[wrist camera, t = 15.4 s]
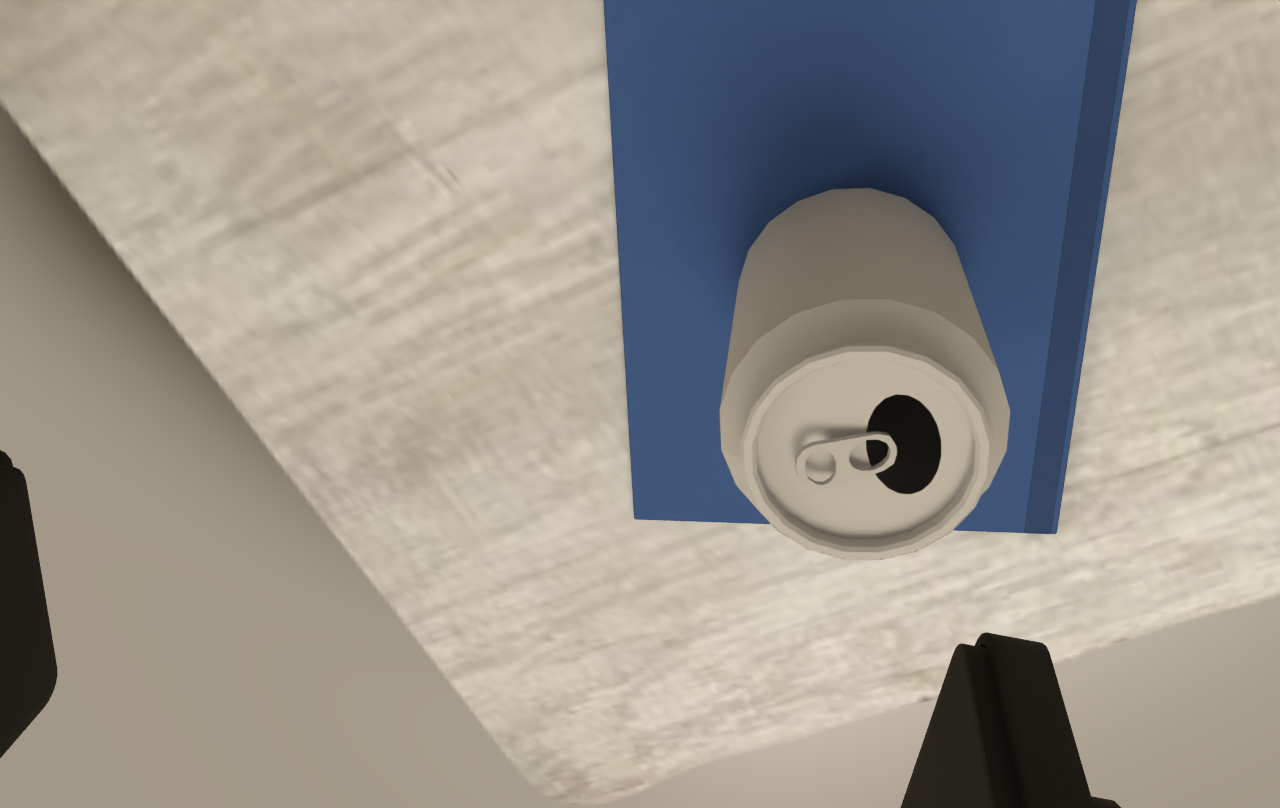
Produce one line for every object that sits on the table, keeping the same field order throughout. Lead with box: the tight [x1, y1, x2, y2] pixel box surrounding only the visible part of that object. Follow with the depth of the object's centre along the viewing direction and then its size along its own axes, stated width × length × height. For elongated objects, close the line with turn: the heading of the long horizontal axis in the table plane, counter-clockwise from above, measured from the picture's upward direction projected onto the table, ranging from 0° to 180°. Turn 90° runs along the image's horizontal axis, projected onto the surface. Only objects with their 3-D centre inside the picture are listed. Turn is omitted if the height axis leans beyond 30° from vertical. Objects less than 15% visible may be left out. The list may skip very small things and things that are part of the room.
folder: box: [604, 0, 1137, 534], centre depth 38 cm, size 20×16×1 cm
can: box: [720, 188, 1010, 560], centre depth 33 cm, size 8×8×12 cm
